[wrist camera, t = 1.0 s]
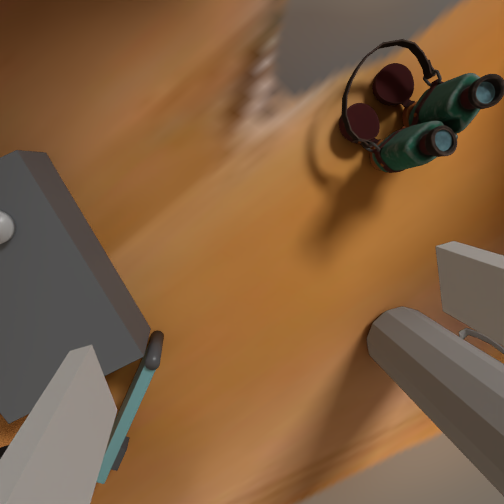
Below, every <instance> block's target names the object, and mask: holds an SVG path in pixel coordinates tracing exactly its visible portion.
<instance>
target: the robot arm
mask: <svg viewBox="0 0 504 504" xmlns="http://www.w3.org/2000/svg"><path fill="white" fill-rule="evenodd" d="M436 255H437V264H438V273H439V282H440V290H441V299H442V308H443V311H444V312H445V313H447V314H449V315H451V316H452V317H454V318H456V319H457V320H459V321H461V322H463V323H464V324H466V325H468V326H470V327H471V328H473V329H475V330H476V331H478V332H480V333H482V334H483V335H485V336H487V337H488V338H490V339H492V340H494V341H495V342H497V343H499V344H500V345H502V346H504V256H503V255H500V254H496V253H493V252H490V251H486V250H483V249H479V248H476V247H473V246H469V245H466V244H462V243H459V242H455V241H452V242H449V243H445V244H442V245H438V246H436ZM116 413H117V408H116V405H115V403H114V400H113V398H112V395H111V392H110V390H109V387H108V385H107V382H106V380H105V377H104V374H103V372H102V369H101V367H100V364H99V361H98V359H97V356H96V354H95V351H94V349H93V346H92V345H89V346H85V347H82V348H78V349H75V350H71V351H69V353H68V354H67V356H66V358H65V359H64V361H63V362H62V364H61V365H60V367H59V368H58V370H57V372H56V373H55V375H54V376H53V378H52V379H51V381H50V383H49V384H48V386H47V387H46V389H45V390H44V392H43V393H42V395H41V397H40V398H39V400H38V401H37V403H36V404H35V406H34V407H33V409H32V411H31V412H30V414H29V415H28V417H27V418H26V420H25V422H24V423H23V425H22V426H21V428H20V429H19V431H18V432H17V434H16V436H15V437H14V439H13V440H12V442H11V443H10V445H8V446H4V447H1V448H0V504H90V502H91V499H92V495H93V492H94V488H95V485H96V482H97V478H98V475H99V471H100V468H101V464H102V461H103V458H104V454H105V451H106V447H107V444H108V441H109V437H110V434H111V430H112V427H113V424H114V420H115V417H116Z"/></svg>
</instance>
